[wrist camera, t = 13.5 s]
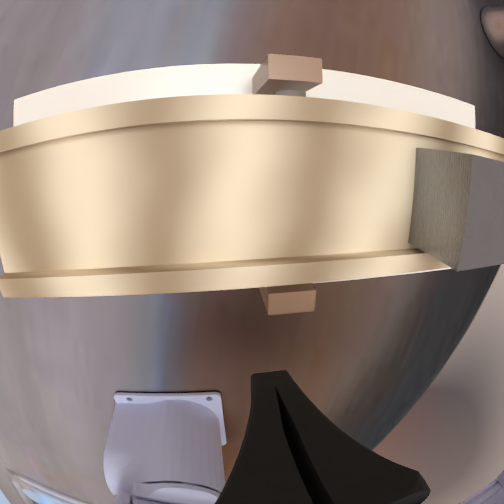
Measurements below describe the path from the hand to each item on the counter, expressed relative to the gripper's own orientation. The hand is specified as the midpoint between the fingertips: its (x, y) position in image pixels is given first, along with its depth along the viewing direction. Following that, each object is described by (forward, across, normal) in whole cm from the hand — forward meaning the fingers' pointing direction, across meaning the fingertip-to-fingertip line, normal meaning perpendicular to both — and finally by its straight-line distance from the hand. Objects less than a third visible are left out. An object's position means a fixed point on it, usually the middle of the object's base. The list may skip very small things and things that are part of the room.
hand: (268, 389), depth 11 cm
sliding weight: (+4, -11, -7) cm, 13 cm away
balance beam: (+5, -2, -7) cm, 9 cm away
